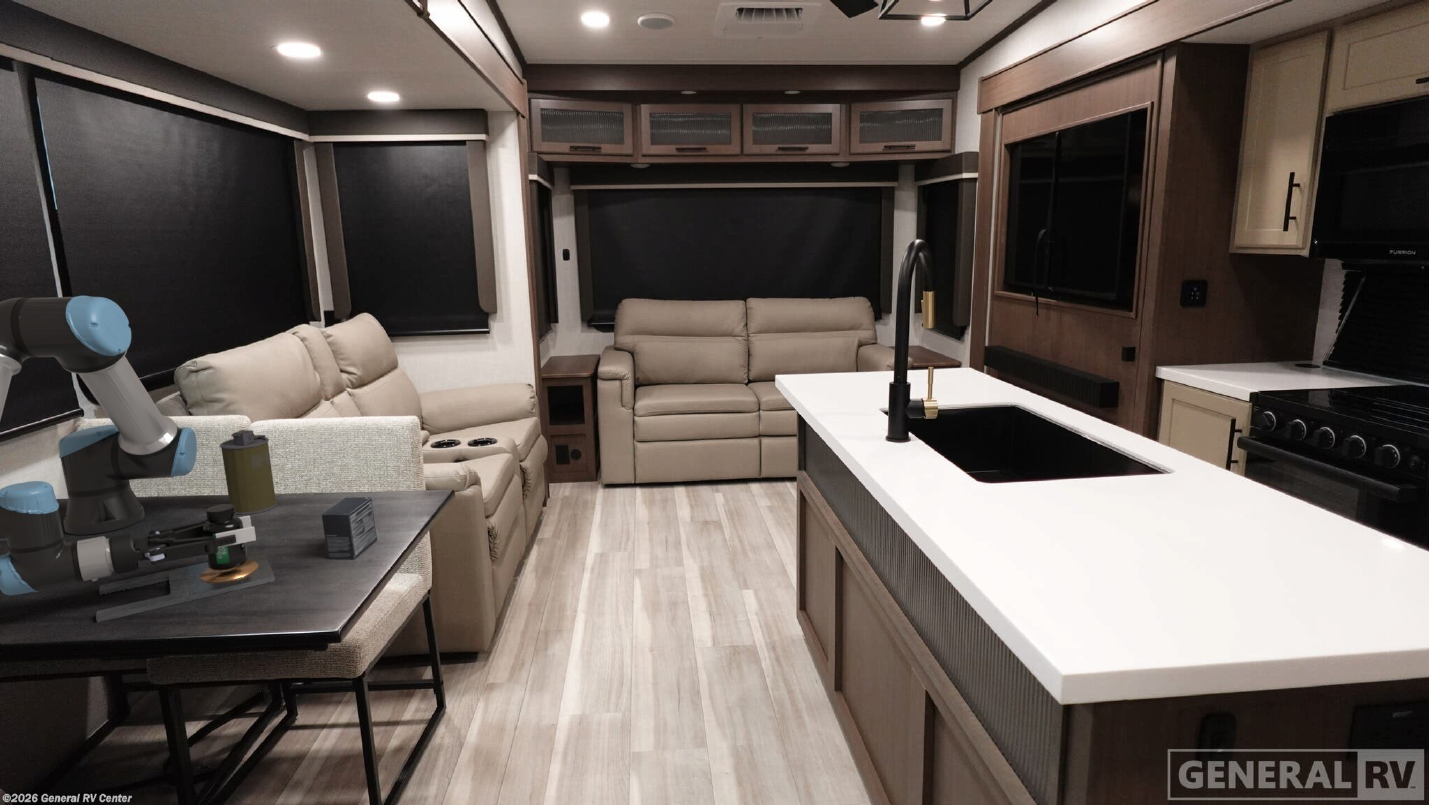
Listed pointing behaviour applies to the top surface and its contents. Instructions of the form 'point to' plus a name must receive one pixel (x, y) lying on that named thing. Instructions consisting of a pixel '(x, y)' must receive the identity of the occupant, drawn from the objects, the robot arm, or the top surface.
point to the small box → (349, 528)
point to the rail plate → (189, 584)
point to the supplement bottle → (221, 522)
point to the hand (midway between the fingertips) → (252, 527)
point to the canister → (248, 473)
